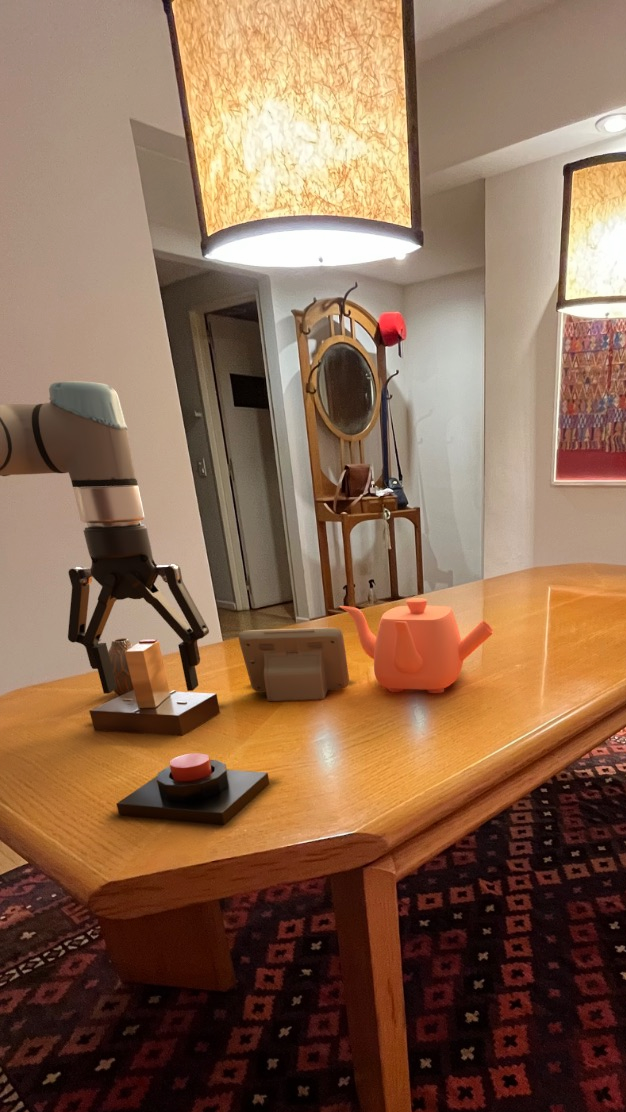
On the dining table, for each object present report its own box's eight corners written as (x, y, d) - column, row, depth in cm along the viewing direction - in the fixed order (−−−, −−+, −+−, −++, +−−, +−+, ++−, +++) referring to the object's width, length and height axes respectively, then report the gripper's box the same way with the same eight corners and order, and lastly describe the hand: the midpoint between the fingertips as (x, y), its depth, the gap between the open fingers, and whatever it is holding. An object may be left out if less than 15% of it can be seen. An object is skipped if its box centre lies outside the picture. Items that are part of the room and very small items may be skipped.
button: (164, 781, 70) (161, 766, 69) (186, 766, 74) (183, 751, 73) (199, 784, 69) (196, 768, 68) (219, 769, 73) (216, 754, 72)
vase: (131, 685, 115) (119, 634, 111) (164, 688, 113) (152, 636, 109) (100, 697, 110) (86, 643, 106) (134, 700, 107) (121, 646, 103)
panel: (93, 730, 95) (88, 709, 94) (138, 708, 104) (134, 688, 103) (182, 736, 92) (177, 714, 91) (220, 712, 101) (216, 692, 100)
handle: (155, 707, 94) (142, 649, 91) (137, 708, 94) (123, 649, 90) (170, 694, 100) (158, 639, 96) (153, 695, 100) (140, 639, 96)
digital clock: (354, 686, 112) (349, 621, 107) (338, 704, 104) (331, 634, 99) (262, 684, 114) (252, 621, 109) (239, 701, 106) (228, 633, 101)
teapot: (402, 709, 100) (397, 615, 94) (345, 682, 114) (337, 598, 108) (497, 686, 110) (498, 599, 104) (434, 664, 123) (431, 585, 117)
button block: (120, 822, 70) (111, 787, 68) (176, 782, 79) (169, 750, 77) (225, 832, 67) (218, 796, 66) (270, 790, 76) (265, 757, 74)
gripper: (214, 519, 90) (240, 679, 100) (37, 524, 89) (81, 684, 99) (197, 523, 83) (227, 694, 93) (5, 528, 83) (56, 700, 92)
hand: (151, 689), depth 96 cm, fingers open, 11 cm apart
